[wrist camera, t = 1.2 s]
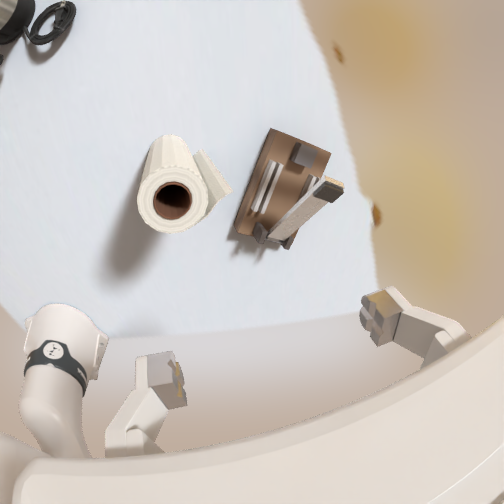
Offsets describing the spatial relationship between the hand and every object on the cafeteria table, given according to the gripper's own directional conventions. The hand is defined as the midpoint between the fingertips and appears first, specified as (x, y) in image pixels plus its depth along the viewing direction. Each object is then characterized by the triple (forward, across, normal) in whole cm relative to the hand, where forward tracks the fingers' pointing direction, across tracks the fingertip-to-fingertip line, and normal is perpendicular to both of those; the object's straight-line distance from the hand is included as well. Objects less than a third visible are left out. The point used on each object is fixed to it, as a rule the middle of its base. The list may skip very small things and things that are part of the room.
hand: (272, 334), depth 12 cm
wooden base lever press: (+37, -12, +9) cm, 40 cm away
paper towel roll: (+37, +4, 0) cm, 37 cm away
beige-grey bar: (+28, -12, +9) cm, 32 cm away
